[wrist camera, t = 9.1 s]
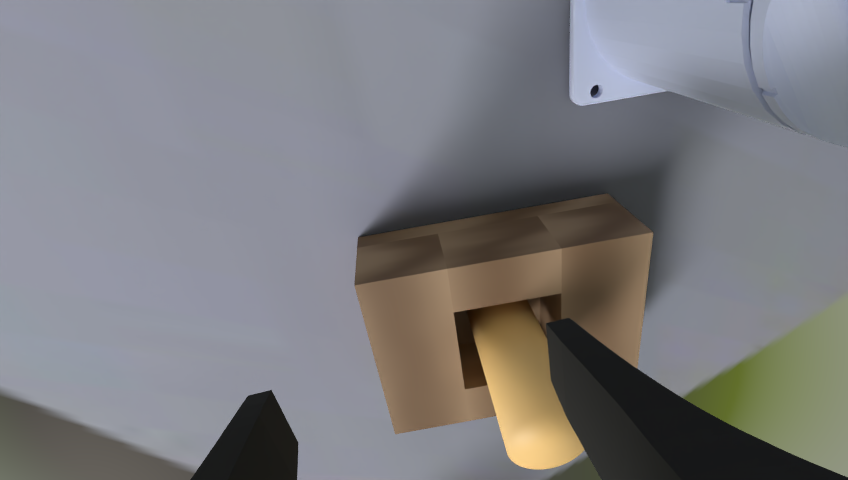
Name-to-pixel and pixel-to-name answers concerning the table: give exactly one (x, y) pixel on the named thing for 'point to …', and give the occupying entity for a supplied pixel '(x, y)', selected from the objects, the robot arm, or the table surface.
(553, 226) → the walnut socket block
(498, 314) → the ochre peg
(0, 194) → the table surface
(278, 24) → the table surface
